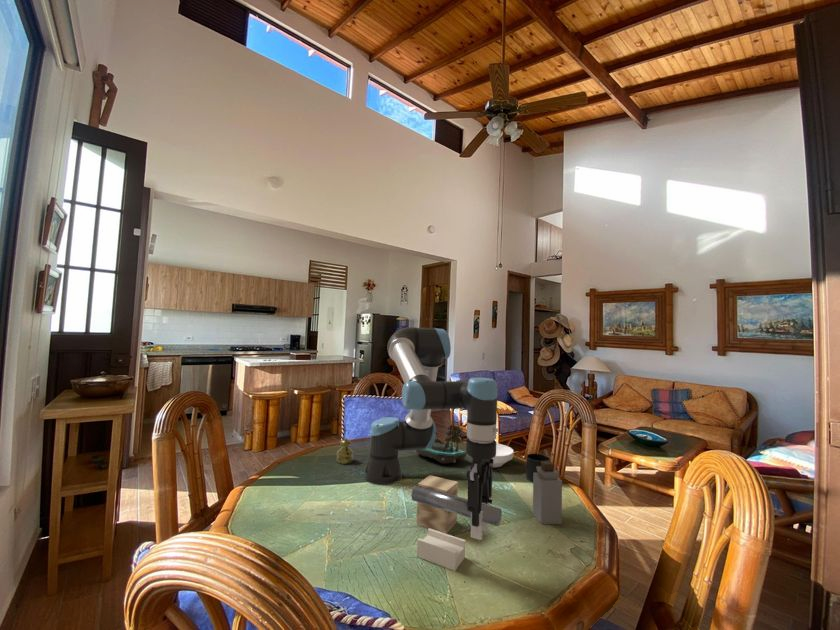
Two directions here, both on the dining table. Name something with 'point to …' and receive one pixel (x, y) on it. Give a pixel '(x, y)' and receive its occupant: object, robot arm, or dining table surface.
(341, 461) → the olive ridged vase
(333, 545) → the dining table surface
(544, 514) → the perfume bottle
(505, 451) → the bowl
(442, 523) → the brown wooden block
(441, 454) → the diorama
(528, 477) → the mug
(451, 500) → the axle
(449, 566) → the cradle
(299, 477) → the dining table surface
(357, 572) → the dining table surface
